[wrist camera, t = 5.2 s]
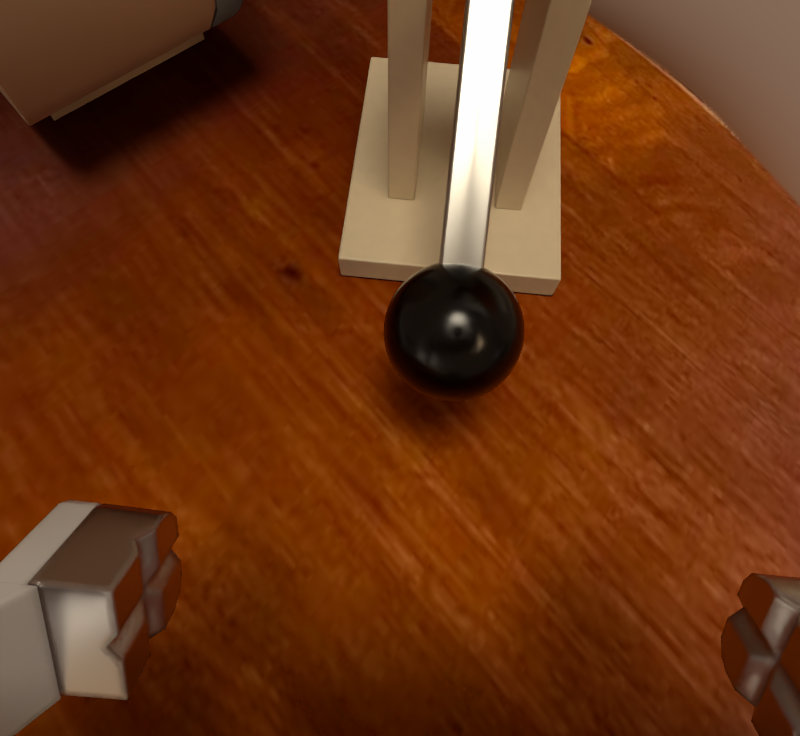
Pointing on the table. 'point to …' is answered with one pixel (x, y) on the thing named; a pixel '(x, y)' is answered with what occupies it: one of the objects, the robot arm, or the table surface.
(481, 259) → the lever
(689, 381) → the table surface
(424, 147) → the bracket
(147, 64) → the alarm clock
